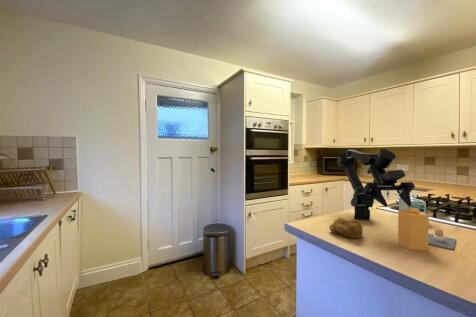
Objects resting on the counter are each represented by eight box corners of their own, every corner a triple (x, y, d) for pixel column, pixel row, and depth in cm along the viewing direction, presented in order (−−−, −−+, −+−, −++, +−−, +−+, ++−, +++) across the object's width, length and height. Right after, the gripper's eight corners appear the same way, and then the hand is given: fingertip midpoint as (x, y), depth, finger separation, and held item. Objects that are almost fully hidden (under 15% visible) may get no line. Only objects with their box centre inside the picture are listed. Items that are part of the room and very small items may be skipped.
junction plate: (453, 250, 73) (453, 235, 73) (421, 243, 80) (421, 229, 80) (455, 240, 81) (455, 227, 81) (426, 234, 88) (426, 222, 88)
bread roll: (325, 233, 90) (325, 215, 90) (335, 228, 97) (335, 210, 97) (359, 242, 81) (359, 222, 81) (367, 235, 88) (367, 216, 87)
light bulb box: (426, 224, 100) (426, 201, 99) (410, 223, 101) (410, 201, 101) (412, 217, 110) (412, 196, 110) (398, 216, 112) (398, 196, 111)
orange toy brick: (398, 243, 80) (398, 206, 80) (414, 242, 80) (414, 206, 79) (410, 250, 74) (410, 211, 74) (428, 250, 74) (428, 211, 73)
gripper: (366, 163, 89) (383, 194, 78) (411, 162, 88) (435, 194, 78) (356, 179, 97) (371, 210, 86) (397, 179, 96) (417, 209, 86)
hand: (398, 206), depth 84 cm, fingers open, 9 cm apart
